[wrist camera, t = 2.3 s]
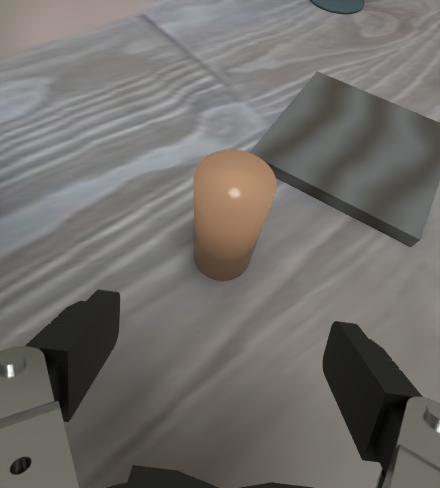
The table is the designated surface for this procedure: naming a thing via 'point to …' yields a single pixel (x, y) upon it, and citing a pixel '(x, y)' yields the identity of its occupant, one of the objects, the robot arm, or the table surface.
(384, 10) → the table surface
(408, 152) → the charcoal board
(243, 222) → the tan dome-topped cylinder
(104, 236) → the table surface
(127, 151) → the table surface
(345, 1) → the cocktail glass
